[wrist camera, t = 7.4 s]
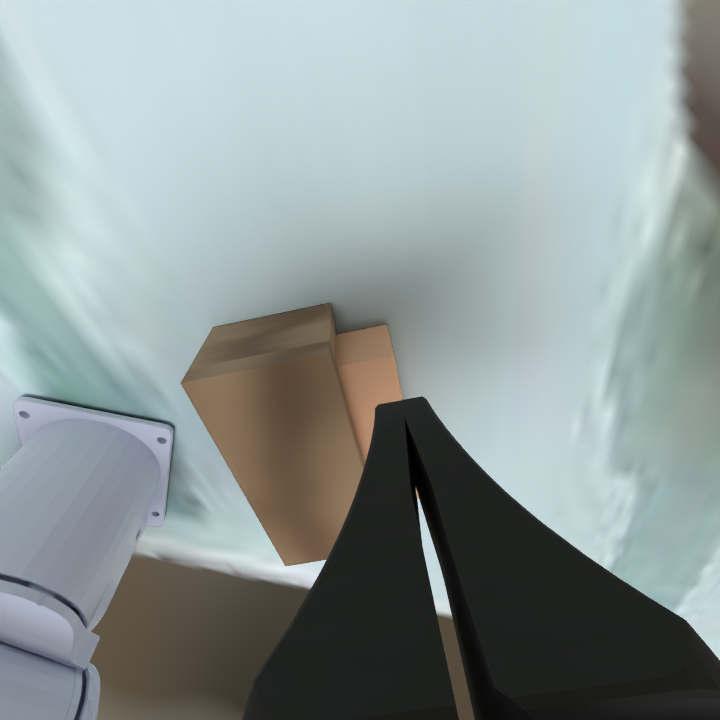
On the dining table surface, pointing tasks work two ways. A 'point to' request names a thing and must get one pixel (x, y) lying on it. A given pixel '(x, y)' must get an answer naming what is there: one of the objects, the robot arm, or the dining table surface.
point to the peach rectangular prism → (367, 377)
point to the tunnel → (282, 425)
